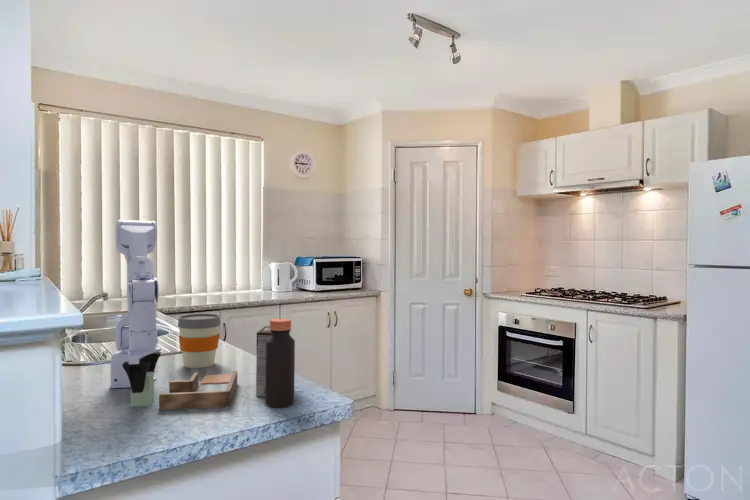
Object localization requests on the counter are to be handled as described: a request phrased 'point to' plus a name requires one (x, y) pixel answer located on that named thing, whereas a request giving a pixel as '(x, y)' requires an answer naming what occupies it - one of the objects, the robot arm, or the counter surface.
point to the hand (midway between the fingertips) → (142, 387)
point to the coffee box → (261, 360)
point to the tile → (216, 379)
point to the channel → (196, 395)
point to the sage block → (144, 392)
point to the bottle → (280, 365)
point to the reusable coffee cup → (199, 339)
